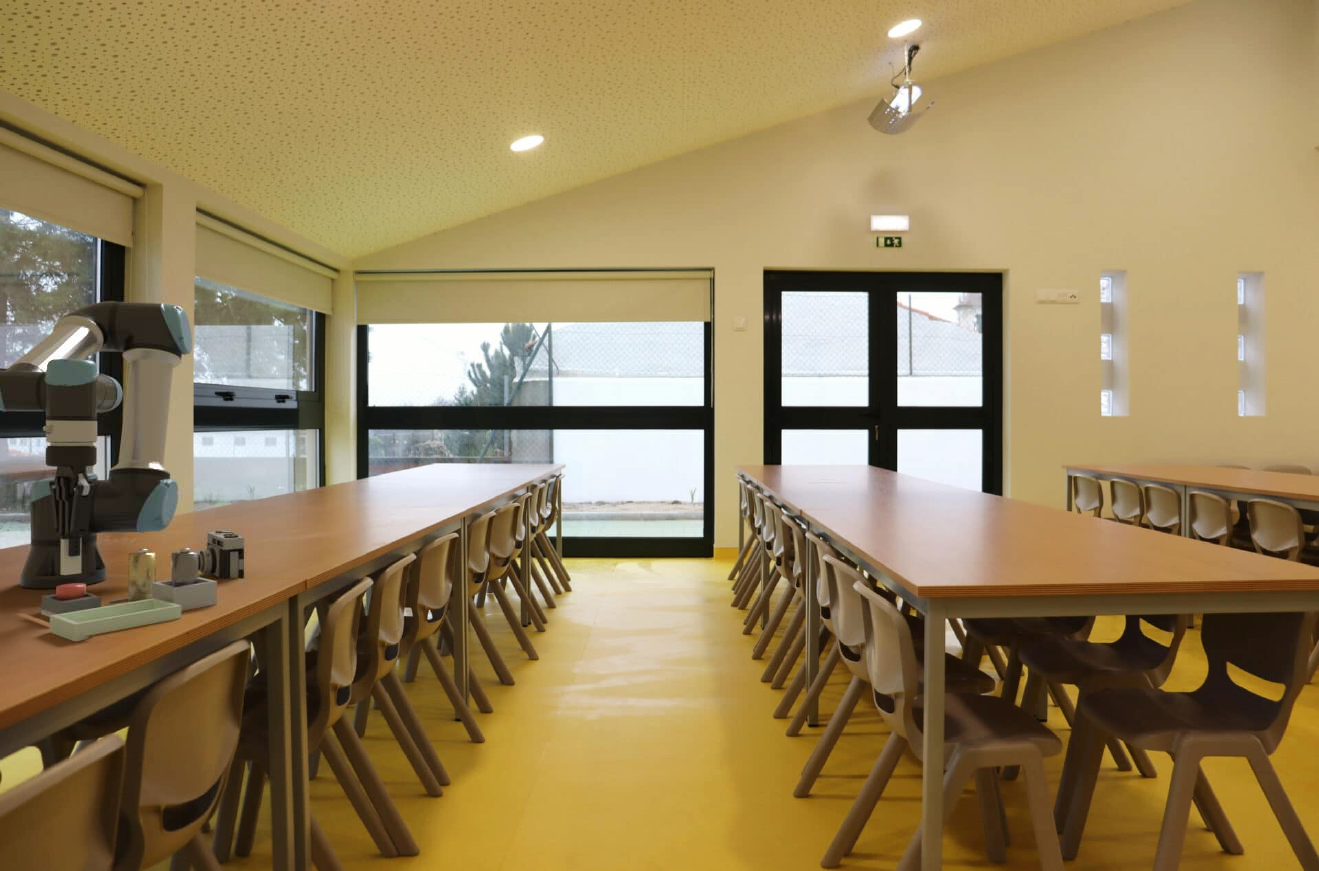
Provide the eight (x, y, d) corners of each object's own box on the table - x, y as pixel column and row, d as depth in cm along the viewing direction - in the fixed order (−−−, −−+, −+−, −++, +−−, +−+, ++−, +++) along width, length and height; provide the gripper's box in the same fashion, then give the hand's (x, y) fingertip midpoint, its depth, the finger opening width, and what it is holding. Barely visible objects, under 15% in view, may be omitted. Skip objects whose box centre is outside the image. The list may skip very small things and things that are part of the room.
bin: (152, 609, 153) (152, 582, 153) (195, 601, 160) (195, 576, 160) (173, 615, 149) (173, 588, 149) (217, 607, 156) (217, 581, 155)
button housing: (37, 615, 147) (37, 596, 147) (79, 608, 152) (79, 590, 152) (58, 623, 142) (58, 603, 142) (101, 616, 147) (101, 597, 147)
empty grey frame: (105, 606, 154) (105, 601, 154) (158, 597, 163) (158, 592, 162) (124, 612, 150) (124, 607, 150) (178, 603, 158) (178, 598, 158)
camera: (188, 574, 186) (188, 531, 186) (227, 570, 192) (227, 528, 192) (205, 584, 176) (205, 538, 176) (245, 579, 182) (245, 535, 182)
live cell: (124, 605, 156) (124, 549, 155) (148, 601, 159) (149, 546, 159) (135, 608, 153) (135, 552, 153) (159, 604, 157) (160, 549, 157)
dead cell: (167, 605, 154) (167, 548, 154) (190, 601, 157) (191, 546, 157) (178, 608, 151) (178, 551, 151) (202, 604, 155) (202, 548, 155)
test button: (52, 597, 147) (52, 586, 147) (79, 592, 150) (79, 582, 150) (62, 600, 144) (62, 589, 144) (90, 596, 148) (90, 585, 148)
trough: (49, 632, 136) (49, 615, 136) (155, 613, 150) (155, 598, 150) (74, 641, 131) (74, 624, 131) (181, 621, 145) (181, 605, 145)
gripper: (32, 443, 147) (31, 572, 147) (62, 445, 140) (62, 581, 140) (79, 443, 153) (78, 566, 154) (111, 445, 146) (110, 574, 147)
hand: (71, 573), depth 147 cm, fingers closed
